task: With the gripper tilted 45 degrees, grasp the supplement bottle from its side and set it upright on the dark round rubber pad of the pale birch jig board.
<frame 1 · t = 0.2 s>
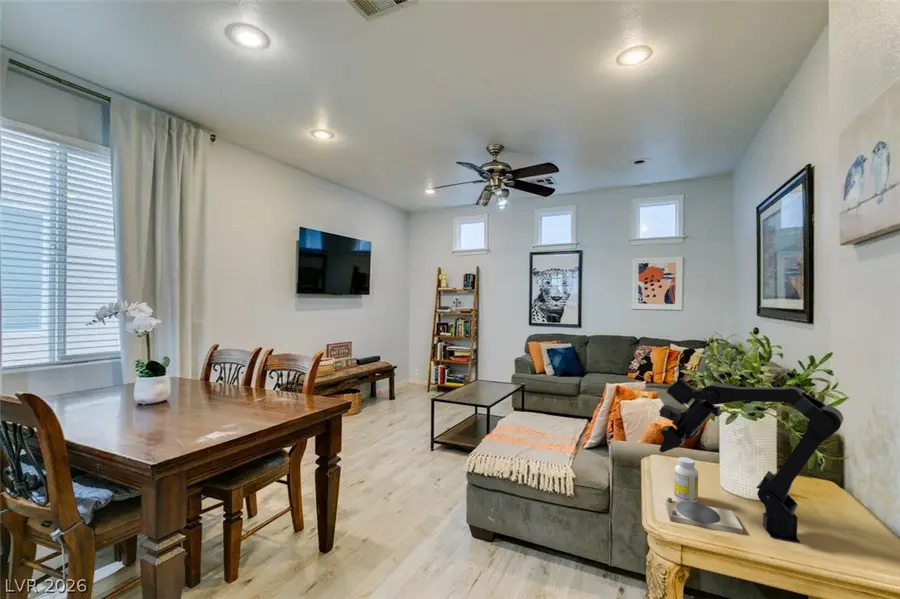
hand: (666, 447, 134), 15 cm above the table, tool tilted 35°, fingers open, 9 cm apart
supplement bottle: (685, 499, 130), on the table
jig board: (701, 518, 119), on the table
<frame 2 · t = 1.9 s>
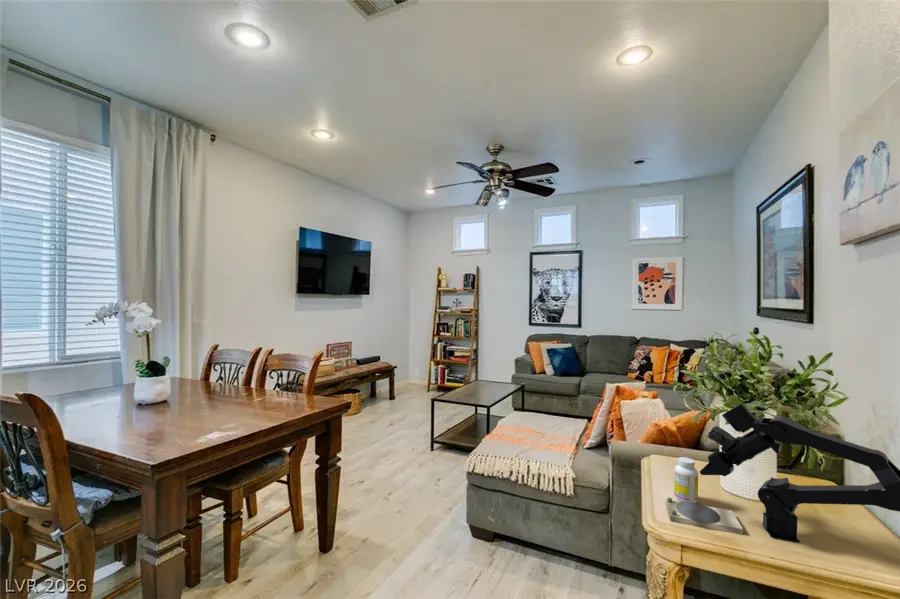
hand: (706, 469, 125), 12 cm above the table, tool tilted 45°, fingers open, 9 cm apart
nothing on the table moved.
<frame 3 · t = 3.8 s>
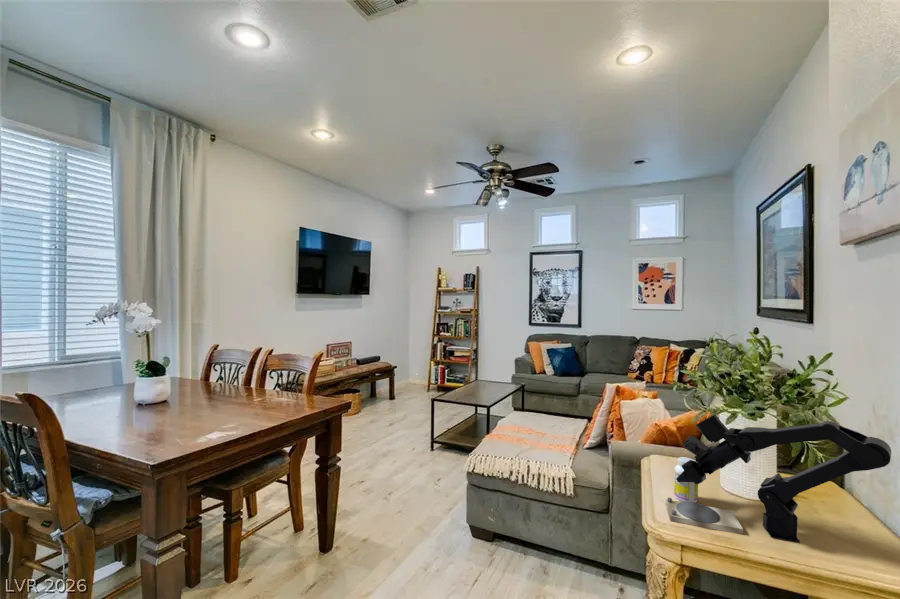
hand: (681, 477, 131), 7 cm above the table, tool tilted 45°, fingers closed on supplement bottle, 7 cm apart
supplement bottle: (685, 499, 130), on the table, touching gripper
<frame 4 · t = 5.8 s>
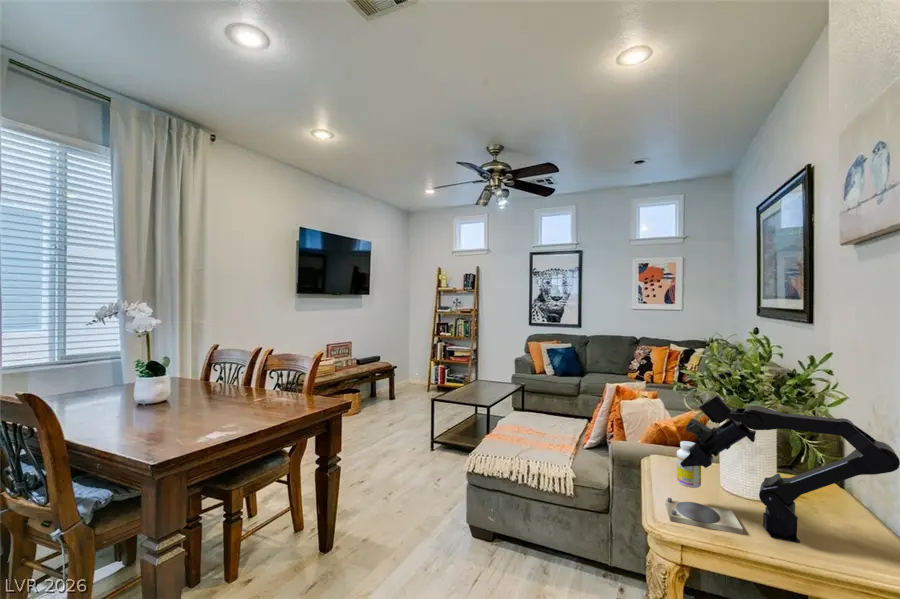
hand: (683, 461, 127), 13 cm above the table, tool tilted 45°, fingers closed on supplement bottle, 7 cm apart
supplement bottle: (688, 484, 126), point 6 cm above the table, touching gripper
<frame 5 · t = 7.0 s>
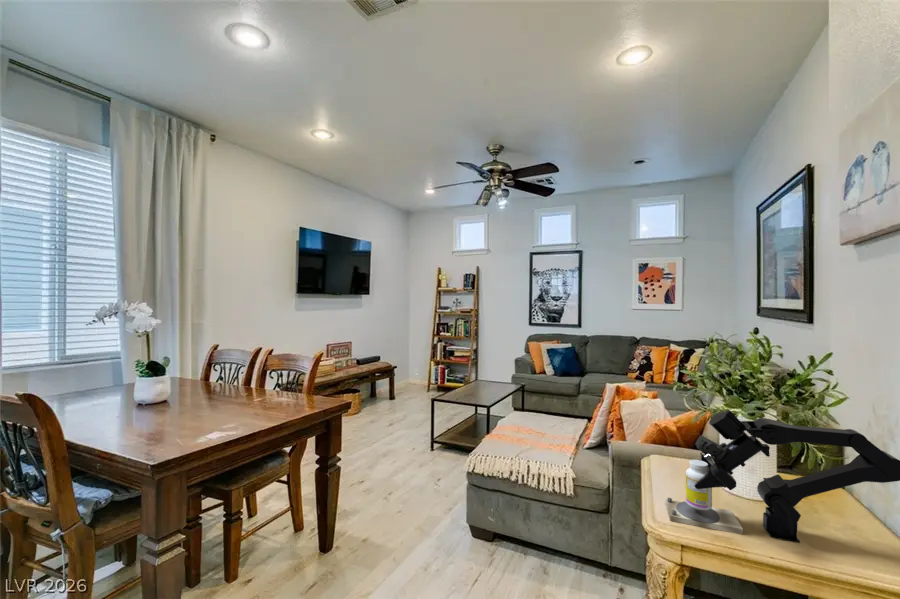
hand: (693, 482, 119), 10 cm above the table, tool tilted 45°, fingers closed on supplement bottle, 7 cm apart
supplement bottle: (698, 506, 119), point 4 cm above the table, touching gripper
when the fingers open (9 cm above the table, at t = 7.8 s): supplement bottle stays where it is, resting on jig board.
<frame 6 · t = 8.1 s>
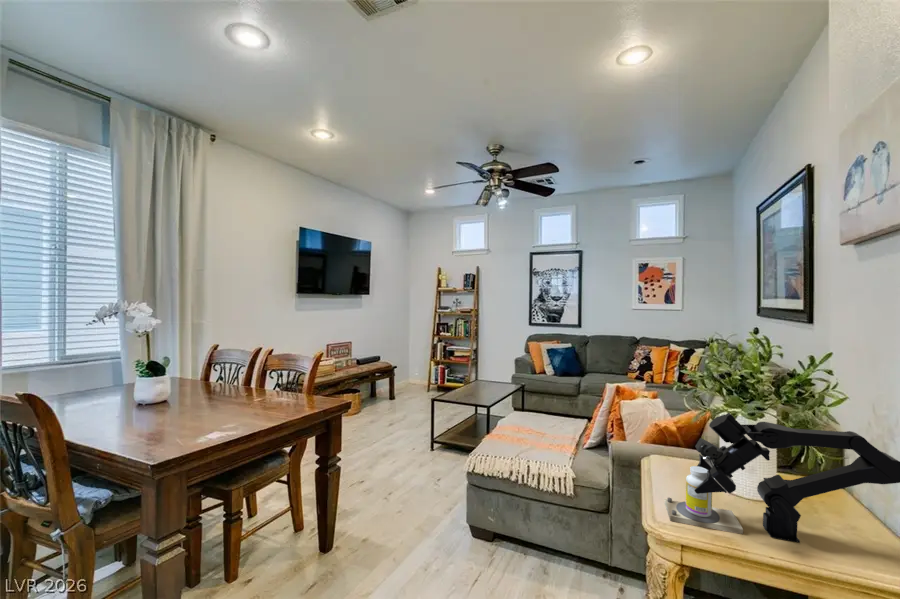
hand: (692, 484, 119), 10 cm above the table, tool tilted 45°, fingers open, 9 cm apart
supplement bottle: (698, 512, 119), point 2 cm above the table, touching jig board
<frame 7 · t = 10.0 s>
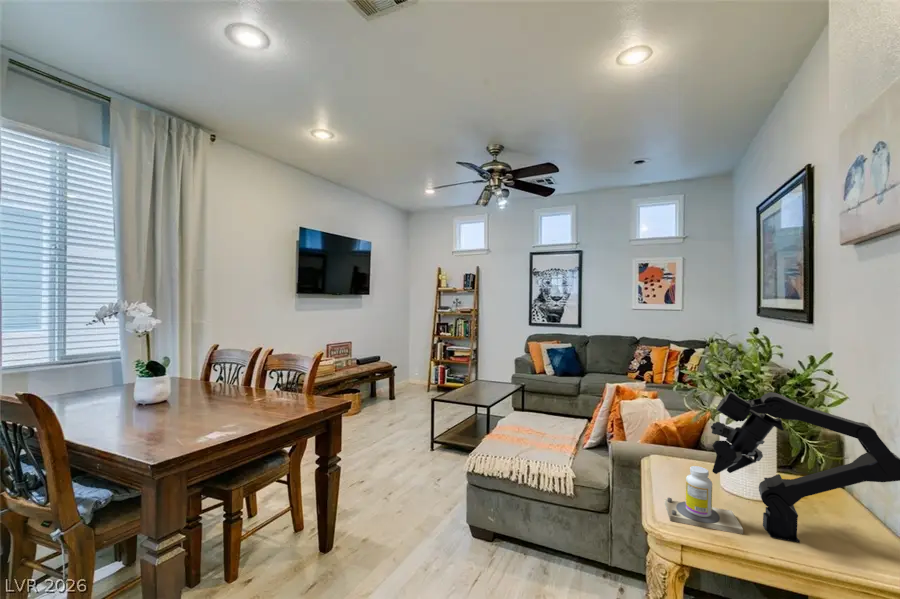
hand: (721, 472, 119), 14 cm above the table, tool tilted 30°, fingers open, 9 cm apart
nothing on the table moved.
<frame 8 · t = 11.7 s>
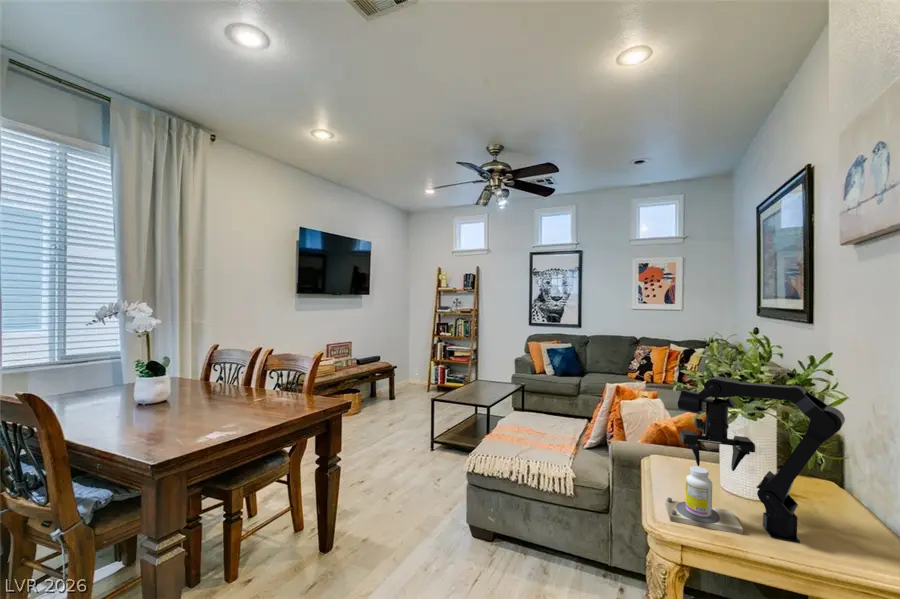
hand: (715, 467, 123), 13 cm above the table, tool pointing down, fingers open, 9 cm apart
nothing on the table moved.
at the end: supplement bottle 0.2 cm from the target spot on the jig board, point 1.6 cm above the jig board's base; supplement bottle tilted 0°; the gripper is holding nothing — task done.
